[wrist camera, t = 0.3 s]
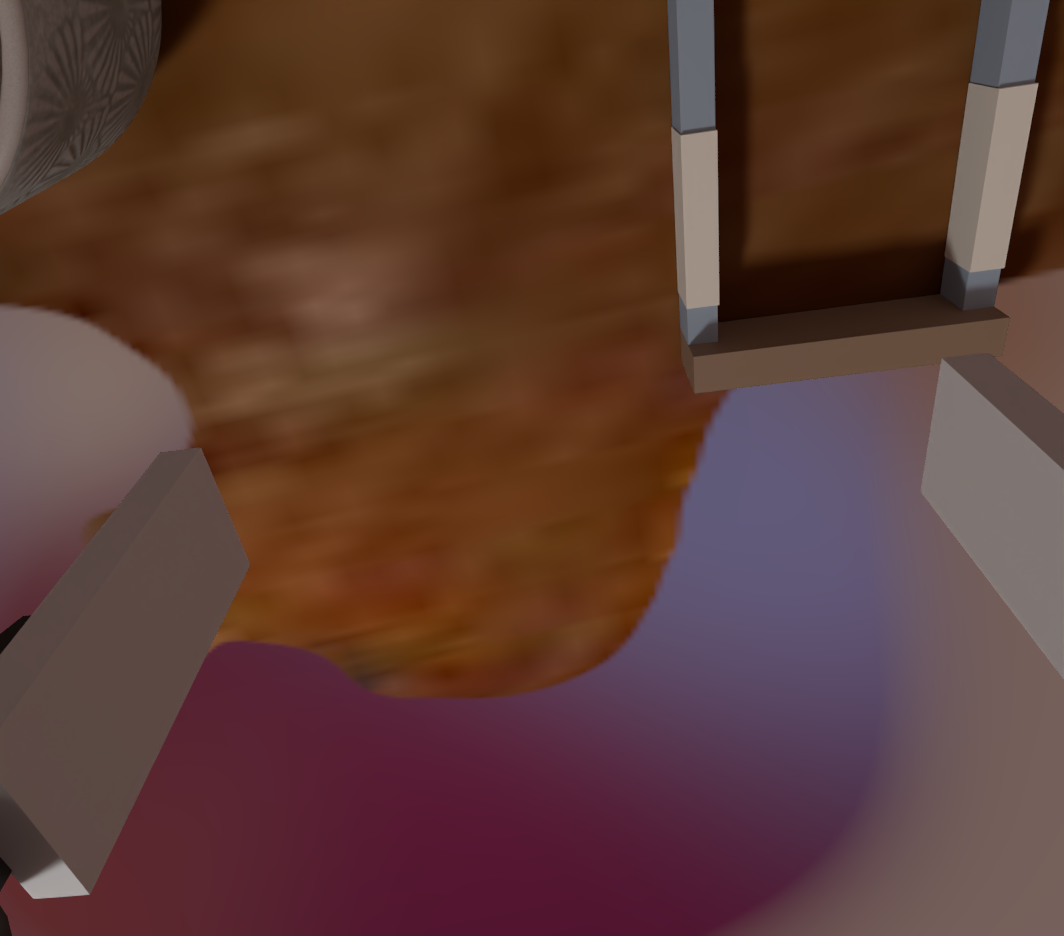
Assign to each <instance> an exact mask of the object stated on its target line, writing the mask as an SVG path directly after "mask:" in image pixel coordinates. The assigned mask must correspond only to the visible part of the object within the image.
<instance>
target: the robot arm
mask: <svg viewBox="0 0 1064 936" xmlns="http://www.w3.org/2000/svg"><path fill="white" fill-rule="evenodd" d="M921 493H922V494H923V495H924V497H925V498H926V499H927V500H928V502H929V503H930V504H931V506H932V507H933V508H934V510H935V511H936V512H937V514H938V515H939V516H940V517H941V519H942V520H943V522H944V523H945V524H946V525H947V527H948V528H949V529H950V531H951V532H952V533H953V535H954V536H955V537H956V539H957V540H958V541H959V542H960V544H961V545H962V546H963V548H964V549H965V550H966V552H967V553H968V554H969V556H970V557H971V558H972V559H973V561H974V562H975V564H976V565H977V566H978V567H979V569H980V570H981V571H982V572H983V574H984V575H985V577H986V578H987V579H988V580H989V582H990V583H991V584H992V586H993V587H994V588H995V590H996V591H997V592H998V594H999V595H1000V596H1001V598H1002V599H1003V600H1004V601H1005V603H1006V604H1007V605H1008V607H1009V608H1010V609H1011V611H1012V612H1013V613H1014V615H1015V616H1016V617H1017V619H1018V620H1019V621H1020V622H1021V624H1022V625H1023V627H1024V628H1025V629H1026V631H1027V632H1028V633H1029V634H1030V636H1031V637H1032V638H1033V640H1034V641H1035V642H1036V644H1037V645H1038V646H1039V647H1040V649H1041V650H1042V651H1043V653H1044V654H1045V655H1046V657H1047V658H1048V659H1049V661H1050V662H1051V663H1052V665H1053V666H1054V667H1055V669H1056V670H1057V671H1058V673H1059V674H1060V675H1061V676H1062V678H1063V679H1064V413H1062V412H1061V411H1060V410H1059V409H1057V408H1056V407H1055V406H1054V405H1052V404H1051V403H1050V402H1049V401H1048V400H1046V399H1045V398H1044V397H1043V396H1041V395H1040V394H1039V393H1038V392H1037V391H1035V390H1034V389H1033V388H1032V387H1030V386H1029V385H1028V384H1027V383H1025V382H1024V381H1023V380H1022V379H1021V378H1019V377H1018V376H1017V375H1016V374H1014V373H1013V372H1012V371H1011V370H1009V369H1008V368H1007V367H1006V366H1004V365H1003V364H1002V363H1001V362H1000V361H998V360H997V359H996V358H995V357H993V356H992V355H991V354H990V353H989V352H988V353H980V354H971V355H963V356H955V357H946V358H942V360H941V367H940V373H939V379H938V385H937V392H936V398H935V404H934V411H933V417H932V423H931V429H930V436H929V443H928V449H927V455H926V461H925V467H924V474H923V480H922V487H921ZM249 566H250V563H249V560H248V558H247V556H246V553H245V551H244V549H243V546H242V544H241V541H240V539H239V537H238V534H237V532H236V530H235V527H234V525H233V523H232V520H231V518H230V516H229V513H228V511H227V509H226V506H225V504H224V501H223V499H222V497H221V494H220V492H219V490H218V487H217V485H216V483H215V480H214V478H213V476H212V473H211V471H210V468H209V466H208V464H207V461H206V459H205V457H204V454H203V452H202V450H201V448H193V449H185V450H177V451H168V452H160V454H159V455H158V456H157V458H156V459H155V460H154V461H153V463H152V464H151V465H150V466H149V468H148V469H147V470H146V471H145V473H144V474H143V475H142V476H141V478H140V479H139V480H138V482H137V483H136V484H135V485H134V487H133V488H132V489H131V490H130V492H129V493H128V494H127V495H126V497H125V498H124V499H123V500H122V502H121V503H120V504H119V505H118V507H117V508H116V509H115V510H114V512H113V513H112V514H111V516H110V517H109V518H108V519H107V521H106V522H105V523H104V524H103V526H102V527H101V528H100V529H99V531H98V532H97V533H96V534H95V536H94V537H93V538H92V539H91V541H90V542H89V543H88V545H87V546H86V547H85V548H84V550H83V551H82V552H81V553H80V555H79V556H78V557H77V558H76V560H75V561H74V562H73V563H72V565H71V566H70V567H69V569H68V570H67V571H66V572H65V574H64V575H63V576H62V578H61V579H60V580H59V581H58V582H57V584H56V585H55V586H54V588H53V589H52V590H51V591H50V593H49V594H48V595H47V596H46V598H45V599H44V600H43V601H42V603H41V604H40V605H39V606H38V608H37V609H36V610H35V612H34V613H33V614H32V615H30V616H23V617H21V618H20V619H19V620H17V621H16V622H15V623H14V624H12V625H11V626H10V627H9V628H7V629H6V630H5V631H4V632H2V633H1V634H0V891H1V889H2V887H3V885H4V884H5V882H6V880H7V879H8V877H9V875H10V873H11V874H12V875H13V876H14V877H15V878H16V879H17V881H18V882H19V883H20V884H21V885H22V886H23V887H24V889H25V890H26V891H27V892H28V893H29V894H30V895H31V897H32V898H33V899H39V898H52V897H65V896H77V895H89V894H90V893H91V891H92V889H93V887H94V885H95V883H96V881H97V879H98V877H99V875H100V872H101V870H102V868H103V866H104V864H105V862H106V860H107V858H108V856H109V854H110V852H111V850H112V848H113V846H114V844H115V841H116V840H117V838H118V836H119V833H120V831H121V829H122V827H123V825H124V823H125V821H126V819H127V817H128V815H129V813H130V811H131V809H132V807H133V805H134V803H135V800H136V799H137V796H138V794H139V792H140V790H141V788H142V786H143V784H144V782H145V780H146V778H147V776H148V774H149V772H150V770H151V768H152V766H153V764H154V761H155V759H156V757H157V755H158V753H159V751H160V749H161V747H162V745H163V743H164V741H165V739H166V737H167V735H168V733H169V731H170V728H171V726H172V724H173V722H174V720H175V718H176V716H177V714H178V712H179V710H180V708H181V706H182V704H183V702H184V700H185V698H186V696H187V694H188V691H189V689H190V687H191V685H192V683H193V681H194V679H195V677H196V675H197V673H198V671H199V669H200V667H201V665H202V663H203V661H204V659H205V657H206V654H207V652H208V650H209V648H210V646H211V644H212V642H213V640H214V638H215V636H216V634H217V632H218V630H219V628H220V626H221V624H222V622H223V620H224V617H225V615H226V613H227V611H228V609H229V607H230V605H231V603H232V601H233V599H234V597H235V595H236V593H237V591H238V589H239V587H240V585H241V582H242V580H243V578H244V576H245V574H246V572H247V570H248V568H249ZM0 936H12V934H11V930H10V926H9V921H8V917H7V915H6V914H5V912H4V911H3V909H2V908H1V906H0Z"/></svg>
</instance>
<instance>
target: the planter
mask: <svg viewBox="0 0 1064 936" xmlns="http://www.w3.org/2000/svg"><path fill="white" fill-rule="evenodd" d="M161 27H162V13H161V0H0V215H1V214H3V213H4V212H6V211H8V210H10V209H11V208H13V207H15V206H17V205H18V204H20V203H22V202H24V201H25V200H27V199H29V198H31V197H32V196H34V195H36V194H38V193H39V192H41V191H43V190H45V189H46V188H48V187H50V186H52V185H53V184H55V183H57V182H59V181H60V180H62V179H64V178H66V177H67V176H69V175H71V174H73V173H75V172H76V171H78V170H80V169H82V168H83V167H84V166H86V165H87V164H89V163H90V162H91V161H93V160H94V159H96V158H97V157H98V156H100V155H101V154H102V153H104V152H105V151H106V150H107V149H108V148H109V147H110V146H111V145H112V144H113V143H114V142H115V141H116V140H117V139H118V138H119V137H120V136H121V135H122V133H123V132H124V131H125V130H126V128H127V127H128V126H129V124H130V123H131V122H132V121H133V119H134V117H135V116H136V114H137V112H138V110H139V109H140V107H141V105H142V103H143V101H144V99H145V97H146V95H147V92H148V90H149V88H150V85H151V83H152V80H153V76H154V73H155V69H156V66H157V61H158V55H159V49H160V41H161Z"/></svg>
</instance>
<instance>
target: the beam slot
mask: <svg viewBox="0 0 1064 936" xmlns="http://www.w3.org/2000/svg"><path fill="white" fill-rule="evenodd" d="M1049 1H1050V0H982V2H981V9H980V16H979V23H978V30H977V37H976V44H975V51H974V58H973V65H972V72H971V80H970V83H969V86H968V93H967V100H966V107H965V114H964V121H963V128H962V135H961V142H960V150H959V157H958V164H957V171H956V178H955V185H954V192H953V199H952V206H951V213H950V220H949V227H948V234H947V242H946V249H945V263H944V270H943V277H942V284H941V291H940V294H936V295H928V296H921V297H913V298H905V299H897V300H889V301H882V302H874V303H866V304H858V305H850V306H842V307H835V308H827V309H819V310H811V311H803V312H795V313H788V314H780V315H772V316H764V317H756V318H748V319H741V320H733V321H725V322H718V305H719V224H718V138H717V130H716V129H715V64H714V0H667V3H668V29H669V54H670V79H671V104H672V127H671V131H672V156H673V181H674V206H675V231H676V255H677V280H678V292H679V306H680V331H681V357H682V363H683V366H684V368H685V371H686V373H687V376H688V378H689V381H690V383H691V386H692V388H693V391H694V393H703V392H711V391H719V390H727V389H736V388H743V387H752V386H760V385H768V384H776V383H784V382H793V381H801V380H810V379H818V378H825V377H834V376H843V375H851V374H859V373H867V372H876V371H884V370H892V369H900V368H908V367H917V366H925V365H933V364H941V360H942V358H946V357H955V356H963V355H971V354H980V353H988V352H989V353H990V354H991V355H992V356H993V357H999V356H1003V351H1004V346H1005V341H1006V336H1007V331H1008V326H1009V321H1010V317H1009V316H1007V315H1006V314H1004V313H1003V312H1001V311H1000V310H998V309H996V308H995V307H994V304H995V299H996V293H997V288H998V282H999V277H1000V271H1001V268H1005V263H1006V257H1007V252H1008V246H1009V241H1010V236H1011V230H1012V225H1013V219H1014V214H1015V208H1016V203H1017V197H1018V192H1019V187H1020V181H1021V176H1022V170H1023V165H1024V159H1025V154H1026V148H1027V143H1028V137H1029V132H1030V127H1031V121H1032V116H1033V110H1034V105H1035V99H1036V94H1037V88H1038V83H1035V78H1036V73H1037V67H1038V62H1039V56H1040V51H1041V45H1042V39H1043V34H1044V28H1045V23H1046V17H1047V12H1048V6H1049Z"/></svg>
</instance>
